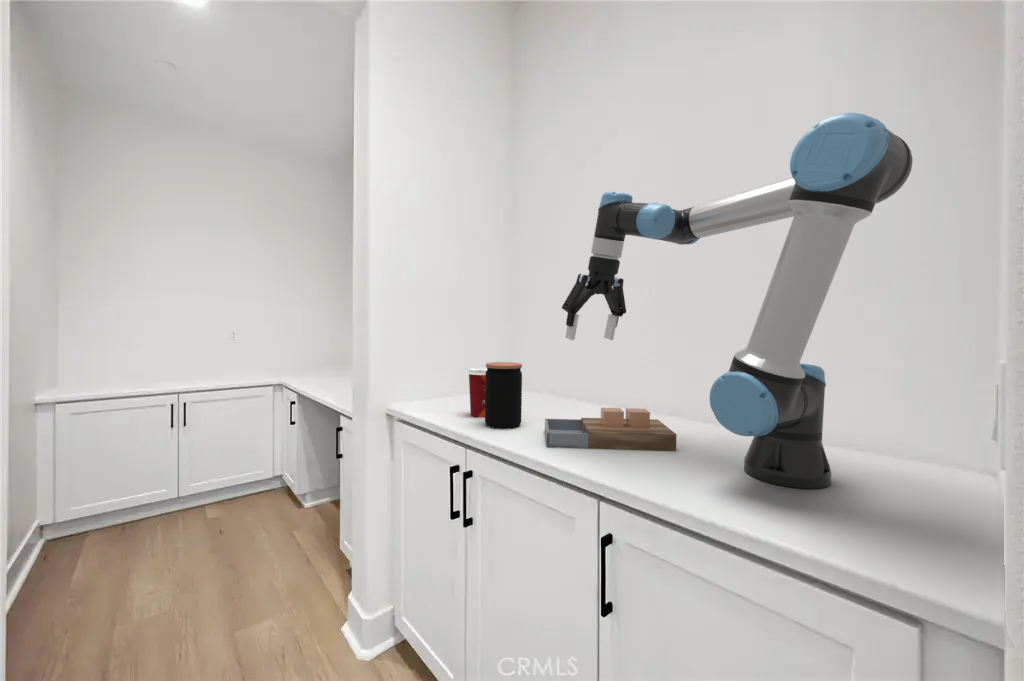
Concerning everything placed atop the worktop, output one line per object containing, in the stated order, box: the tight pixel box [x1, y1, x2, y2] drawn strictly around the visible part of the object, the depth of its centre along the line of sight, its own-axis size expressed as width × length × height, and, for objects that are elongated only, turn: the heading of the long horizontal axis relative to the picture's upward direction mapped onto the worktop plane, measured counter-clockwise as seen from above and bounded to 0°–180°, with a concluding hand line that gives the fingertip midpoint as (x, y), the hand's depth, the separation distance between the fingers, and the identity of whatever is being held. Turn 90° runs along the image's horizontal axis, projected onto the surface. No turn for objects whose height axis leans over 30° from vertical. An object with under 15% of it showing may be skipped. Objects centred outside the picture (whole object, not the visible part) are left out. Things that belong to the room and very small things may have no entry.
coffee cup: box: [467, 367, 487, 418], centre depth 145 cm, size 8×8×15 cm
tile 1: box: [600, 407, 625, 428], centre depth 118 cm, size 5×5×4 cm
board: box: [580, 417, 677, 452], centre depth 118 cm, size 16×21×4 cm
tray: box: [544, 418, 589, 449], centre depth 118 cm, size 16×10×4 cm, turn 178°
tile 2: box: [625, 407, 651, 428], centre depth 117 cm, size 5×5×4 cm
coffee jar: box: [484, 361, 523, 429], centre depth 133 cm, size 11×11×18 cm
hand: (589, 338), depth 119 cm, fingers open, 13 cm apart
